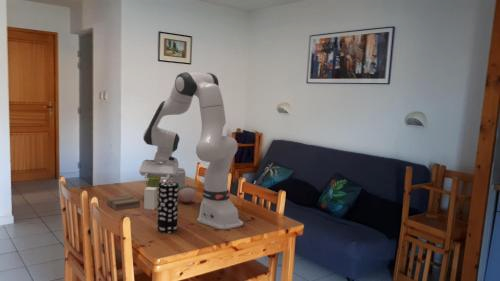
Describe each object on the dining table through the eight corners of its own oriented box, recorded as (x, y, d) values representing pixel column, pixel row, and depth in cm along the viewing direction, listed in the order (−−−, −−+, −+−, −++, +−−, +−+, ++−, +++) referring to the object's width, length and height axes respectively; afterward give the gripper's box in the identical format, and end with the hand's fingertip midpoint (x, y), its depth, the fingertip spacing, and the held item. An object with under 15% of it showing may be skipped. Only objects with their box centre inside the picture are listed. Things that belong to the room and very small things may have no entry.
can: (182, 190, 240) (182, 170, 238) (170, 189, 241) (170, 169, 240) (186, 187, 247) (187, 168, 246) (175, 186, 249) (175, 167, 247)
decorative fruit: (180, 206, 208) (181, 187, 207) (176, 201, 215) (177, 183, 214) (198, 204, 212) (198, 186, 211) (193, 200, 219) (194, 182, 218)
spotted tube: (159, 233, 168) (160, 186, 165) (155, 227, 175) (156, 182, 173) (179, 232, 171) (180, 186, 168) (174, 225, 178) (176, 181, 176)
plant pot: (140, 191, 232) (141, 176, 231) (153, 188, 240) (153, 174, 239) (151, 194, 227) (152, 179, 226) (164, 191, 234) (164, 177, 233)
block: (157, 206, 205) (157, 187, 203) (153, 209, 200) (154, 189, 198) (147, 206, 205) (147, 186, 204) (144, 208, 200) (144, 189, 199)
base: (139, 206, 203) (139, 201, 203) (116, 210, 195) (116, 204, 195) (129, 201, 212) (129, 195, 212) (107, 204, 204) (107, 198, 204)
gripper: (141, 156, 215) (134, 177, 206) (179, 158, 213) (173, 180, 205) (144, 162, 220) (137, 184, 211) (181, 165, 218) (175, 187, 210)
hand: (155, 182), depth 208 cm, fingers open, 8 cm apart
